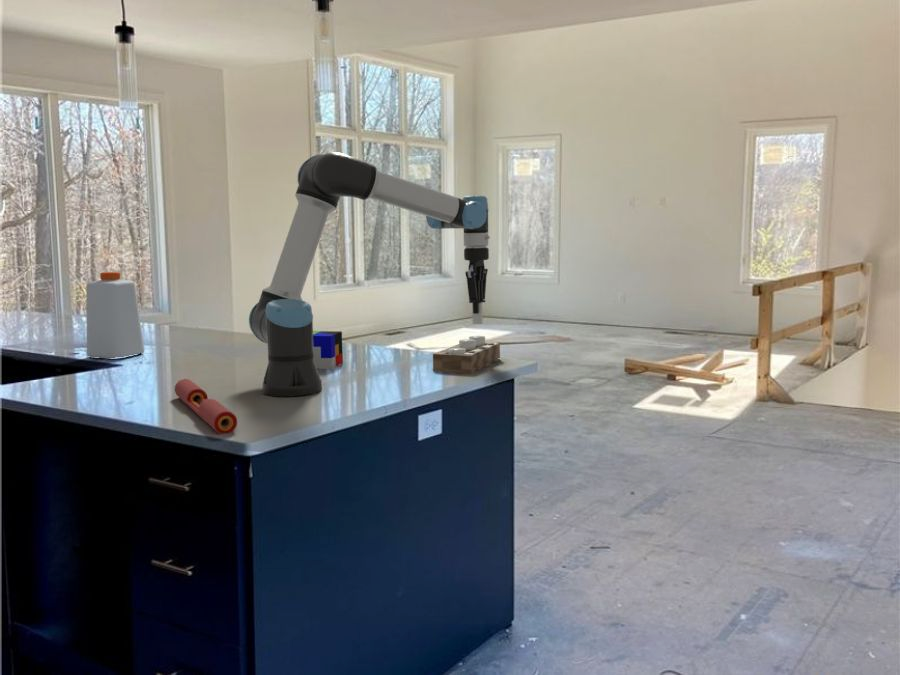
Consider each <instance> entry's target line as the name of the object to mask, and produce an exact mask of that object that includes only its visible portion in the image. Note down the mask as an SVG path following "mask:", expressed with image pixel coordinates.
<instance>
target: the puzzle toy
mask: <svg viewBox="0 0 900 675" xmlns="http://www.w3.org/2000/svg"><path fill="white" fill-rule="evenodd" d="M313 350H314V362H315V365H316V368H317V370H319V369H321V370H333V369H334V368H337V367H338V366H340V365H342V364H343V363H344V361H343V360H344V356H343V355H344V354H343V353H344V352H343V332H342V331H340V330H339V331H337V330H336V331H333V330H330V331H326V330H325V331H324V330H313ZM341 363H342V364H341ZM339 364H340V365H339ZM336 366H337V367H336Z"/></svg>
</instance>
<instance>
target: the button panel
mask: <svg viewBox="0 0 900 675" xmlns="http://www.w3.org/2000/svg"><path fill="white" fill-rule="evenodd" d="M500 345H501V344H500V343H497V342H489V343H488V342H487V343H486V342H485V345H484V346H482V347H478V346H476V349H474V350H472V351H469V350H466V353H465V354H463V355H455V354H449V349H451V348H459V343H458V344H455V345H452V346H450V347H447V348H444V349H442V350H439V351H436V352H434V353H432V371H434V372H445V373H447V372H448V373H458V374H459V373H461V374H464V373H465V374H473V373H475V372H477V371H480V370H481V369H483V368H485V367H487V366H490V365H492V364H494V363H495V362H494V361H496V362H498V361H500V359H501V348H500V347H501V346H500ZM498 358H500V359H498ZM493 362H494V363H493Z"/></svg>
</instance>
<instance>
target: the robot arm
mask: <svg viewBox="0 0 900 675" xmlns="http://www.w3.org/2000/svg"><path fill="white" fill-rule="evenodd" d="M297 184H298V186H297V188H296V192H295V194H294V197H295V198H296V200H297V202H298V203H297V206H296V210H295V212H294V215H293V218H292V221H291V224H290V227H289V230H288V232H287V236H286V238H285V242H284V244H283V247H282V250H281V253H280V256H279V260H278V262H277V264H276V268H275V271H274V274H273V277H272V280H271V283H270V285H269V286H267V287H266V288H263V289H262V290H261V294H260V297H259V299H258V302H257V303H255V305H254V306H253V307H252V309H251V310H250V312H249V315H248V316H249V317H248V325H249V328H250V330H251V332H252V334H253V335H254V337H256V339H258V340H259V341H261V342H262V343H264V344H267V357H268V358H267V359H268V360H267V361H268V364H267V366H266V370H265V373H264V378H263V381H262V394H264V395H267V396H272V397H298V396H299V397H300V396H306V395H307V396H308V395H312V394H317V393H319V392H320V391H322V389H323V386H322V385H323V384H322V380H321V376H320V373H319V371H318V370H319V369H317V368H316V365H315V362H314V350H313V331H314V326H313V323H314V322H313V319H314V314H313V311H312V310H313V309H312V306H311V304H310V303H309V302H307V301H305V300H303V298H302V292H303V290H304V287H305V284H306V282H307V278H308V275H309V272H310V269H311V266H312V264H313V260H314V257H315V255H316V251H317V249H318V246H319V243H320V240H321V238H322V234H323V232H324V227H325V226H326V223H327V220H328V217H329V214H331V213H333V212H334V211H336V210H337V206H338V204H339V201H340V198H341V197H349V198H357V199H359V200H363V201H366V200H368V199H371V200H375V201H378V202H381V203H383V204H384V203H385V204H388V205H391V206H395V207H397V208H401V209H404V210H408V211H410V212H413V213H417V214H419V215H423V216H425V218H426V219H425V220H426V223H427V225H428V227H429V228H430V229H433V230H434V229H436V230H437V229H438V230H441V229H442V230H443V229H444V230H445V229H463V246H464V247H465V248H464V250H463V256H464V257H463V260H464V261H468V270H465V272H464V273H465V277H466V282H467V293H468V300H469V301H468V302H469V304H472V305H471V306H472V325H483V322H484V320H483V316H484V315H483V303H486V289H487V276H488V270H489V269H488V268H486V267H485V261H487V260H489V259H490V253H489V250H490V249H489V247H488V246H489V239H491V238H490V235H489V203H488V202H489V201H488V198H487V197H486V196H485V195H465V196H463V198H460V197H456V196H454V195H451V194H447V193H445V192H442V191H439V190H436V189H434V188H430V187H427V186H424V185H421V184H419V183H416V182H413V181H409V180H407V179H403V178H401V177H399V176H395V175H392V174H390V173H387V172H384V171H380V170H378V168H377V165H374V164H373V163H369V162H366V161H363V160H361V159H359V158H356V157H353V156H352V155H348V154H346V153H342V152H336V151H333V152H327V153H325V154H316V155H313V156H311V157H309V158H308V159H306V160H305V161H304V162H303V163H302V164H301V166H300V167H299V169H298V172H297Z"/></svg>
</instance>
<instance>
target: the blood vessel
mask: <svg viewBox="0 0 900 675" xmlns="http://www.w3.org/2000/svg"><path fill="white" fill-rule="evenodd" d="M174 392H175V395H176V396H177V397H178V398H179V399H180V400H181V401H183V402H184V403H185V404H186V405H187V406H188V408H190V409H191V410H192V411H193V412H194V413H196V415H198V416H199V417H200V418H201V419H202V420H203V421H204V422H205V423H207V424H208V426H210V427H211V428H212V429H213V430H214V431H215V432H216V433H218V434H219V435H223V434H230V433H231V434H232V433H233V432H235V430H236V429H237V426H238V417H237V416H236V415H235V413H233V412H232V411H231V410H229V409H228V408H227V407H225V406H224V405H223V404H221V402H219V401H218V400H216V399H214V398H208V394H207V392H206V391H205V390H204V389H202V388H201V387H200V386H198V385H197V383H194V382H193V381H192V380H190V379H188V378H184V379H180V380H178V381H177V382H176V383H175V385H174Z"/></svg>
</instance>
